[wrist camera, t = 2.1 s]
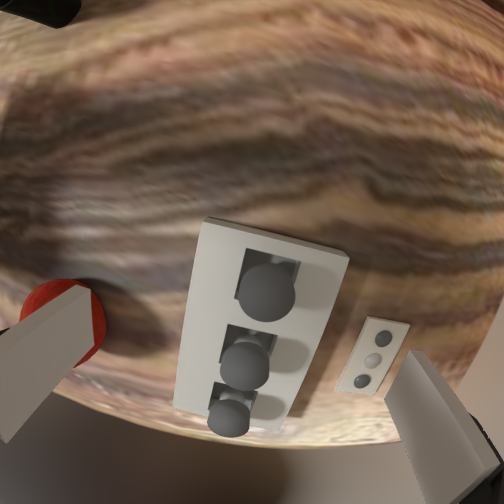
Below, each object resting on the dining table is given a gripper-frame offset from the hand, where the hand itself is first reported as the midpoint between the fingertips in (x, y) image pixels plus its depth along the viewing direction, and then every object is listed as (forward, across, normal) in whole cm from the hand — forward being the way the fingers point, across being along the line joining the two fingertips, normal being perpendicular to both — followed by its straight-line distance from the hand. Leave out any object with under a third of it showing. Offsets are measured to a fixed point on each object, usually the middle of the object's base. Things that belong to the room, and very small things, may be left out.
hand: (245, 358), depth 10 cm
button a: (+17, +1, -3) cm, 18 cm away
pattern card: (+20, +16, -12) cm, 28 cm away
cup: (+20, -33, +28) cm, 47 cm away
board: (+20, +1, -11) cm, 22 cm away
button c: (+17, 0, -19) cm, 26 cm away
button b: (+17, +1, -11) cm, 20 cm away
